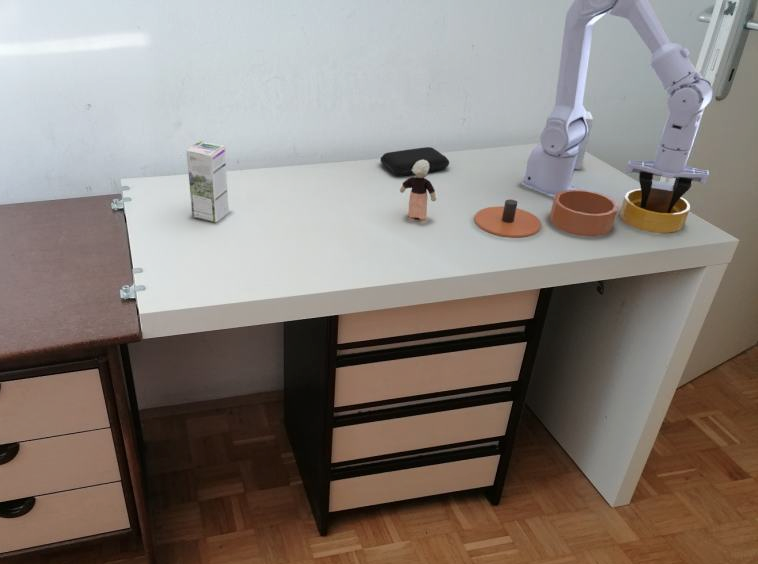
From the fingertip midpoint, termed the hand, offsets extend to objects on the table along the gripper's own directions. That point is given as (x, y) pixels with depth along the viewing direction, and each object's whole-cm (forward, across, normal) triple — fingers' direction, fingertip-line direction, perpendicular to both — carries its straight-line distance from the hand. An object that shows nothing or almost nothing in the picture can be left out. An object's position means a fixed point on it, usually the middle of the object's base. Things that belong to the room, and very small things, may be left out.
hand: (654, 210), depth 148 cm
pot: (+2, -13, -7) cm, 15 cm away
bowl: (+2, 0, 0) cm, 2 cm away
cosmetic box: (+3, -18, +25) cm, 31 cm away
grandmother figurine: (+3, -45, -18) cm, 48 cm away
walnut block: (+2, 0, 0) cm, 2 cm away
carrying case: (+3, -52, +9) cm, 53 cm away
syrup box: (+3, -84, -32) cm, 90 cm away
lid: (+2, -27, -13) cm, 30 cm away
